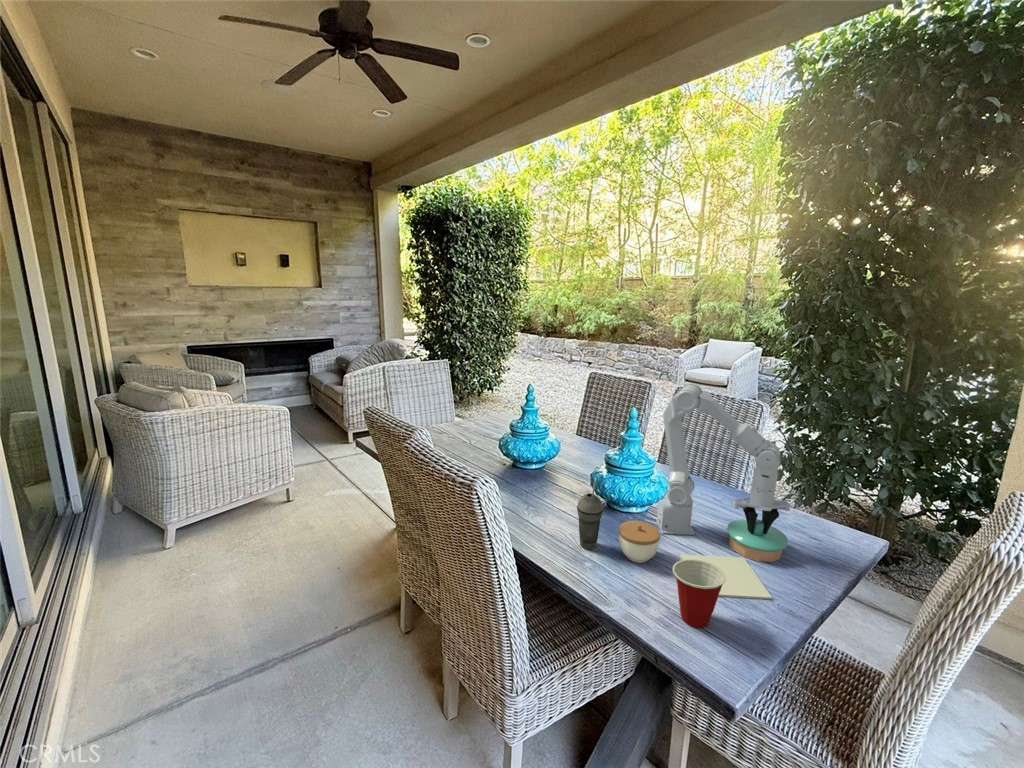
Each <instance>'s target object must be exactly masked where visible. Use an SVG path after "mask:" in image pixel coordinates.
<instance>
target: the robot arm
mask: <svg viewBox="0 0 1024 768" xmlns="http://www.w3.org/2000/svg"><path fill="white" fill-rule="evenodd" d="M696 409H697V410H696ZM694 410H696V413H698V414H708V415H709V416H710V417H712V418H713V420H716V421H717V422H718V423H720V424H721V426H723V427H724V428H726V429H727V430H728V431H729V432H730V434H731V439H732V440H733V441H734V443H736V444H737V445H739V447H741V448H742V449H743V450H744V451H745V452H746V453H748V454H749V456H751V457H754V461H755V467H754V469H753V473H752V480H751V481H752V482H751V487H750V494H749V495H750V497H743V498H733V499H732V503H731V505H732V507H733V508H734V509H737V510H738V509H739V508H740V509H742V511H743V513H744V516H745V520H747V527H748V531H749V532H750V533H752V534H753V533H754V528H755V522H756V519H757V518H758V516H759V514H758V513H757V511H756V509H759V510H761V511H762V512H761V515H762V516H761V521H763V522H764V523H765V524H764V531H763V533H764V534H767V532H768V530H769V528H770V526H773V523H774V522H775V521H776V519H778V518H779V517H780V512H779V510H780V511H781V510H782V511H783V510H784V511H786V512H790V509H791V504H790V502H788V501H786V500H785V501H784V500H777V499H775V494H776V489H777V480H778V471H779V467H780V465H781V451H780V448H779V447H778V446H777V444H776V443H775V442H771V440H770V439H766V438H765V437H763V435H761V434H760V433H759V432H757V427H756V426H754V425H749V423H740V422H739V421H738V420H737V419H736V418H735V417H734V416H733V415H731V413H729V412H728V411H727V409H725V408H724V407H723V406H722V405H721V404H720V403H719V402H718V401H717V400H716V399H715V398H713V397H712V395H710V394H709V393H708V392H707V391H706V390H702V388H701V387H700V386H699V385H697V384H694V383H688V384H685V385H684V386H682V387H681V388H680V389H679V390H678V391H677V392H676V393H675V395H673V396H672V397H671V399H670V401H669V403H668V404H667V406H666V408H665V410H664V411H663V415H662V417H663V426H664V432H665V441H666V449H667V456H668V464H669V479H668V483H669V487H668V490H667V494H666V496H667V498H664V499H659V501H658V505H657V517H656V520H655V521H656V522H657V526H658V527H659V528H660V533H662V534H667V535H670V534H671V535H687V536H689V535H690V536H691V535H692V536H695V535H696V534H695V531H694V529H693V528H692V526H691V523H692V515H693V505H694V500H693V498H692V496H691V495H692V494H693V492H694V490H695V487H696V485H695V481H694V480H693V478H692V477H691V473H690V469H688V462H687V453H686V445H685V436H684V429H683V428H684V427H683V421H682V419H683V417H685V415H686V414H689V413H690V412H692V411H694Z"/></svg>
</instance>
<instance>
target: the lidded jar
mask: <svg viewBox="0 0 1024 768" xmlns="http://www.w3.org/2000/svg"><path fill="white" fill-rule="evenodd" d="M660 538H661V531H659V529H658V528H657V527H656V526H654V524H653V525H652V524H651V523H648V522H645V521H641V520H629V521H625V522H622V523H621V524H620V525H619V527H618V542H619V546H620V549H621V551H622V553H623V554H624V555H625V556H626V558H627V559H628V560H629V561H632V562H634V563H639V564H643V563H646V562H648V561H649V560H651V559H652V558H653V557H654V556H655V555H656V554H657V551H658V548H659V544H660Z"/></svg>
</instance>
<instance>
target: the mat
mask: <svg viewBox="0 0 1024 768" xmlns="http://www.w3.org/2000/svg"><path fill="white" fill-rule="evenodd" d="M679 558H680V561H681V560H687V559H695V560H703V561H706V562H709V563H712V564H714V565H715V566H717V567H719V568H720V569H721V570H722V571H723V572H724V573H725V576H726V580H725V582H724V584H723V585H722V587H721V591H720V592H719V595H718V597H724V598H739V599H741V598H742V599H759V600H760V599H761V600H773V596H772V595H771V594H770V592H769V591H768V590H767V588H766V586H765V585H764V584H763V583H762V581H761V580H760V578H759V577H758V576H757V574H756V573H755V571H754V570H753V568H752V567H751V566H750V564H749V563H748V561H747V559H745V558H746V557H740V556H738V557H736V556H719V555H718V556H717V555H699V554H697V555H696V554H679Z"/></svg>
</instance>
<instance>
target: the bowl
mask: <svg viewBox="0 0 1024 768" xmlns="http://www.w3.org/2000/svg"><path fill="white" fill-rule="evenodd" d="M728 544H729V545H730V547H731V548H732V550H733V551H734V552H736V553H738V554H739V555H741V556H742V557H743V558H747V559H750V560H755V561H758V562H767V563H768V562H770V563H773V562H775V561H779V560H781V559H782V555H783V550H779V551H762V550H757V549H753V548H750V547H747V546H745V545H743V544H741V543H739V542H737V541H736V540H734V539H733V538H732V537H731V536H730V535H729V539H728Z"/></svg>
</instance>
